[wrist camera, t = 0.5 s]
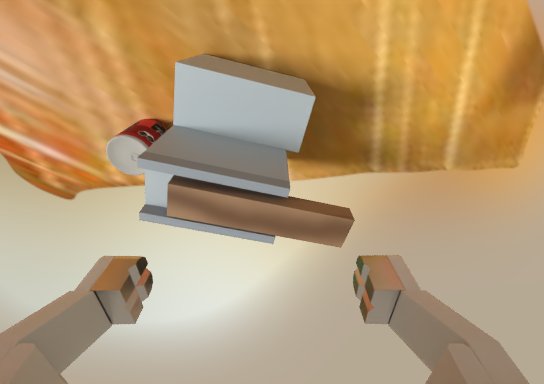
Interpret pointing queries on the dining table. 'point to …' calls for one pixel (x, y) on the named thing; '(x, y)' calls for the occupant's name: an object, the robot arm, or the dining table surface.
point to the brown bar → (258, 211)
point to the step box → (227, 135)
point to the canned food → (133, 145)
